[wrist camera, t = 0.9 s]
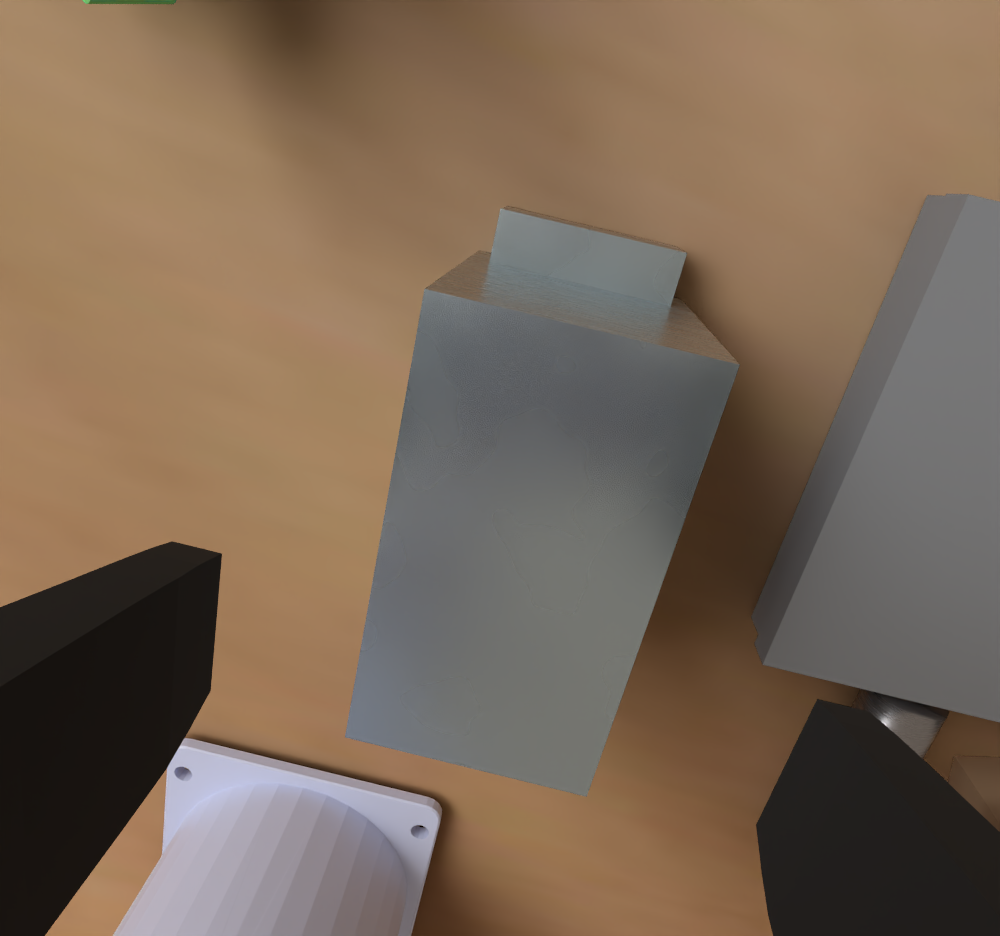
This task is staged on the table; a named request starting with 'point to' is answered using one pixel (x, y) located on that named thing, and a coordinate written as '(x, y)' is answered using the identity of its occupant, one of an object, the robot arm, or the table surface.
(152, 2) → the blue bumpy figure
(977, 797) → the walnut block
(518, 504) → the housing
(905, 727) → the bolt
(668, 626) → the table surface
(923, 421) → the stand
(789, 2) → the table surface
